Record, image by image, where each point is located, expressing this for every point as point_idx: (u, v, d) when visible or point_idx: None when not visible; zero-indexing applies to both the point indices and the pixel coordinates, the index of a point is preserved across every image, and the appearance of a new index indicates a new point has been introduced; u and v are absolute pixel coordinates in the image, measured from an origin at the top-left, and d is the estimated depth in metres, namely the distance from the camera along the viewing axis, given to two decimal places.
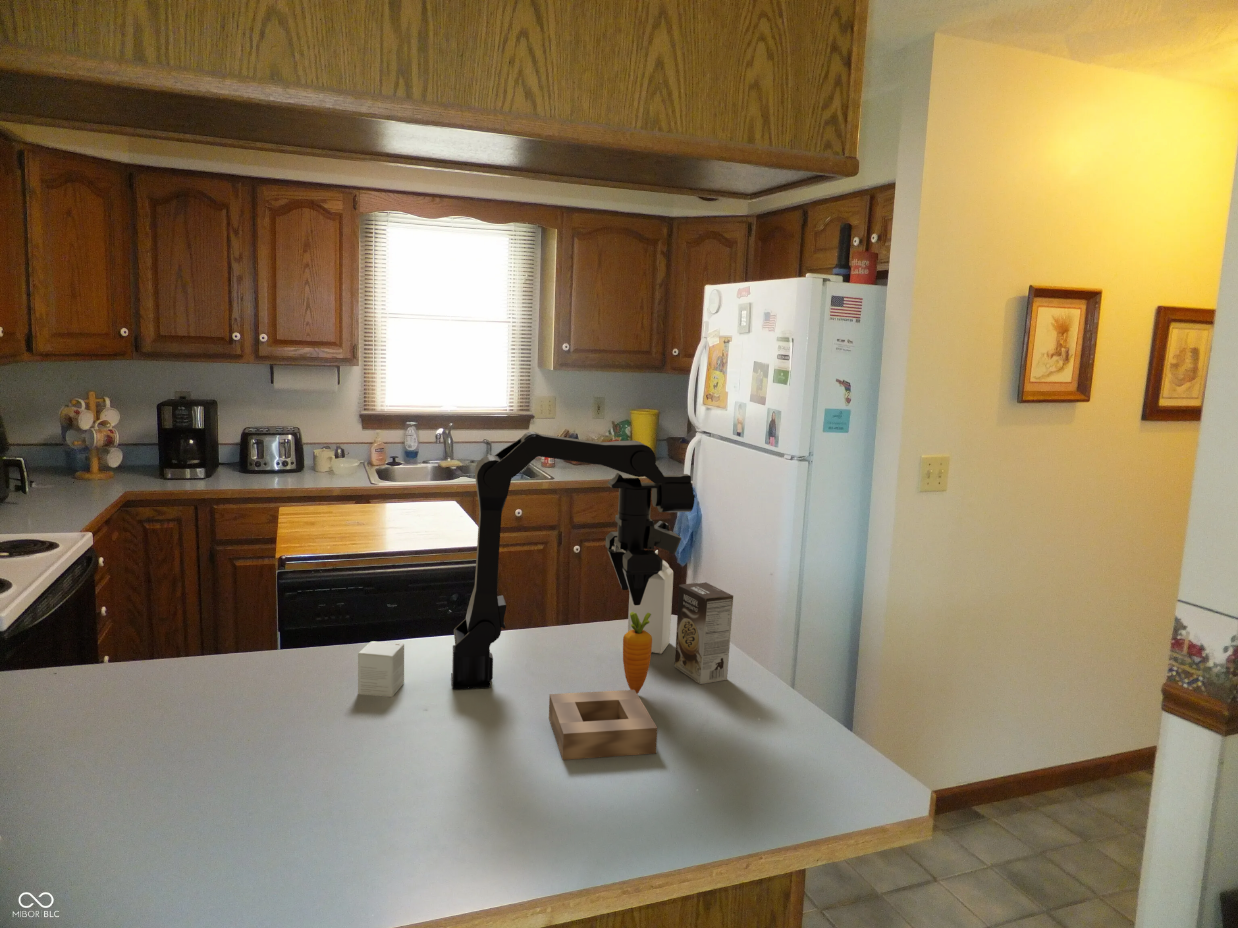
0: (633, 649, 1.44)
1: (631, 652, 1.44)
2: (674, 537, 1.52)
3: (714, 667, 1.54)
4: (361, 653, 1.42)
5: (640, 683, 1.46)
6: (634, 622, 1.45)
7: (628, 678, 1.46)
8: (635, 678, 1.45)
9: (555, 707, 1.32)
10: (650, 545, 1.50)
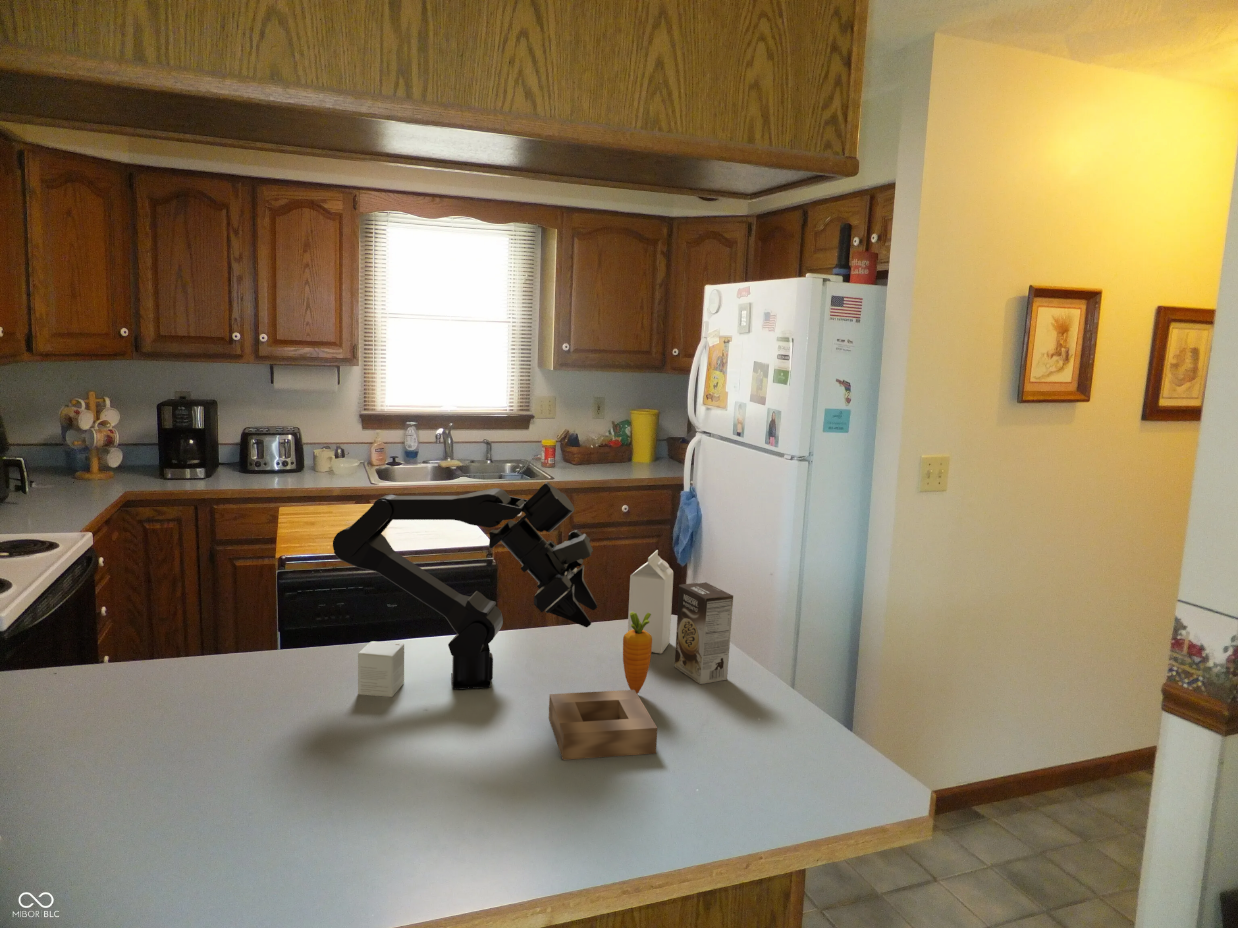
0: (633, 649, 1.44)
1: (631, 652, 1.44)
2: (575, 544, 1.42)
3: (714, 667, 1.54)
4: (361, 653, 1.42)
5: (640, 683, 1.46)
6: (634, 622, 1.45)
7: (628, 678, 1.46)
8: (635, 678, 1.45)
9: (555, 707, 1.32)
10: (560, 567, 1.43)
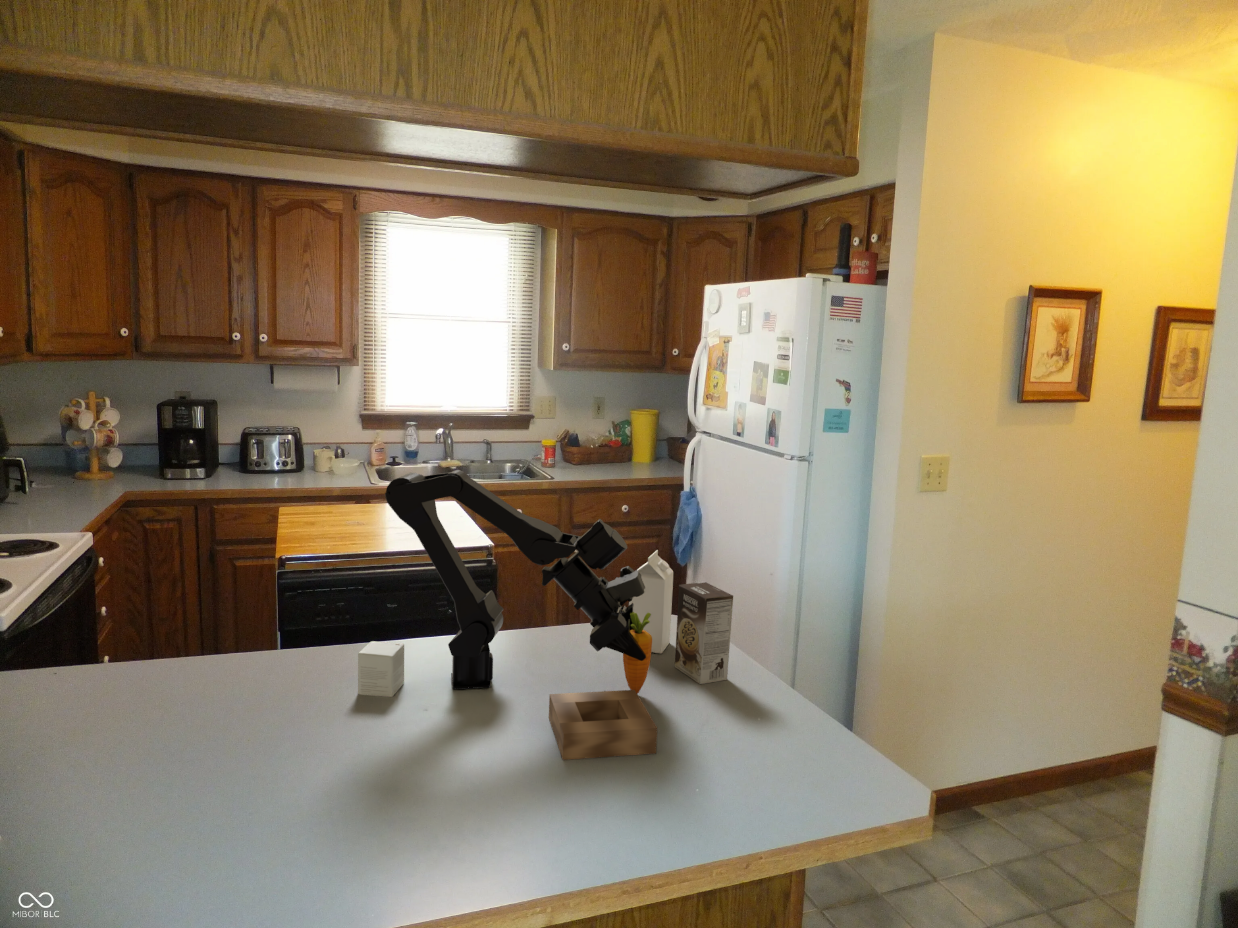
0: None
1: None
2: (628, 582, 1.42)
3: (714, 667, 1.54)
4: (361, 653, 1.42)
5: (640, 682, 1.46)
6: (634, 622, 1.45)
7: (628, 678, 1.46)
8: (635, 678, 1.45)
9: (555, 707, 1.32)
10: (613, 605, 1.43)
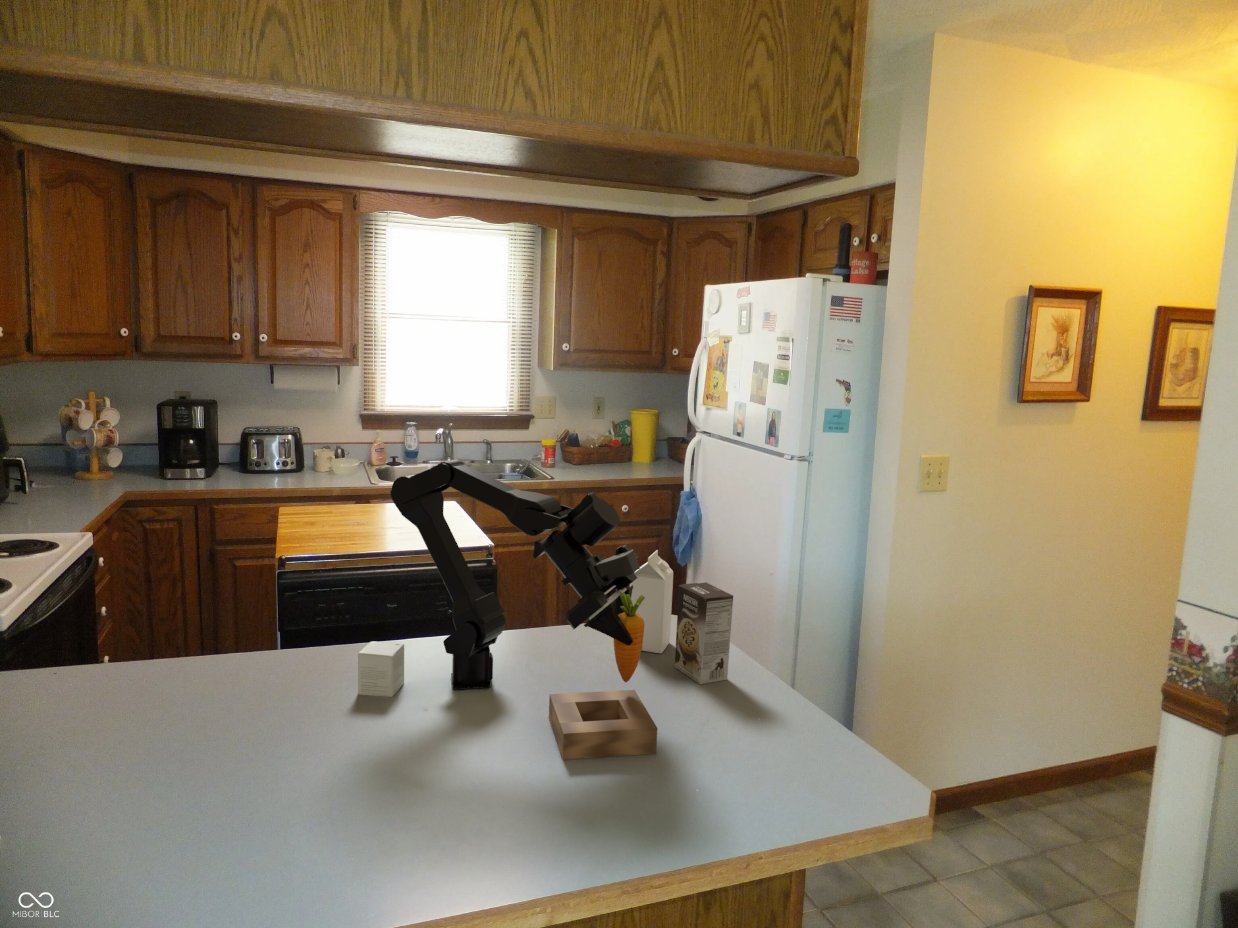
0: None
1: None
2: (616, 560, 1.34)
3: (714, 667, 1.54)
4: (361, 653, 1.42)
5: (629, 669, 1.37)
6: (625, 604, 1.36)
7: (617, 663, 1.37)
8: (623, 663, 1.36)
9: (555, 707, 1.32)
10: (600, 584, 1.35)
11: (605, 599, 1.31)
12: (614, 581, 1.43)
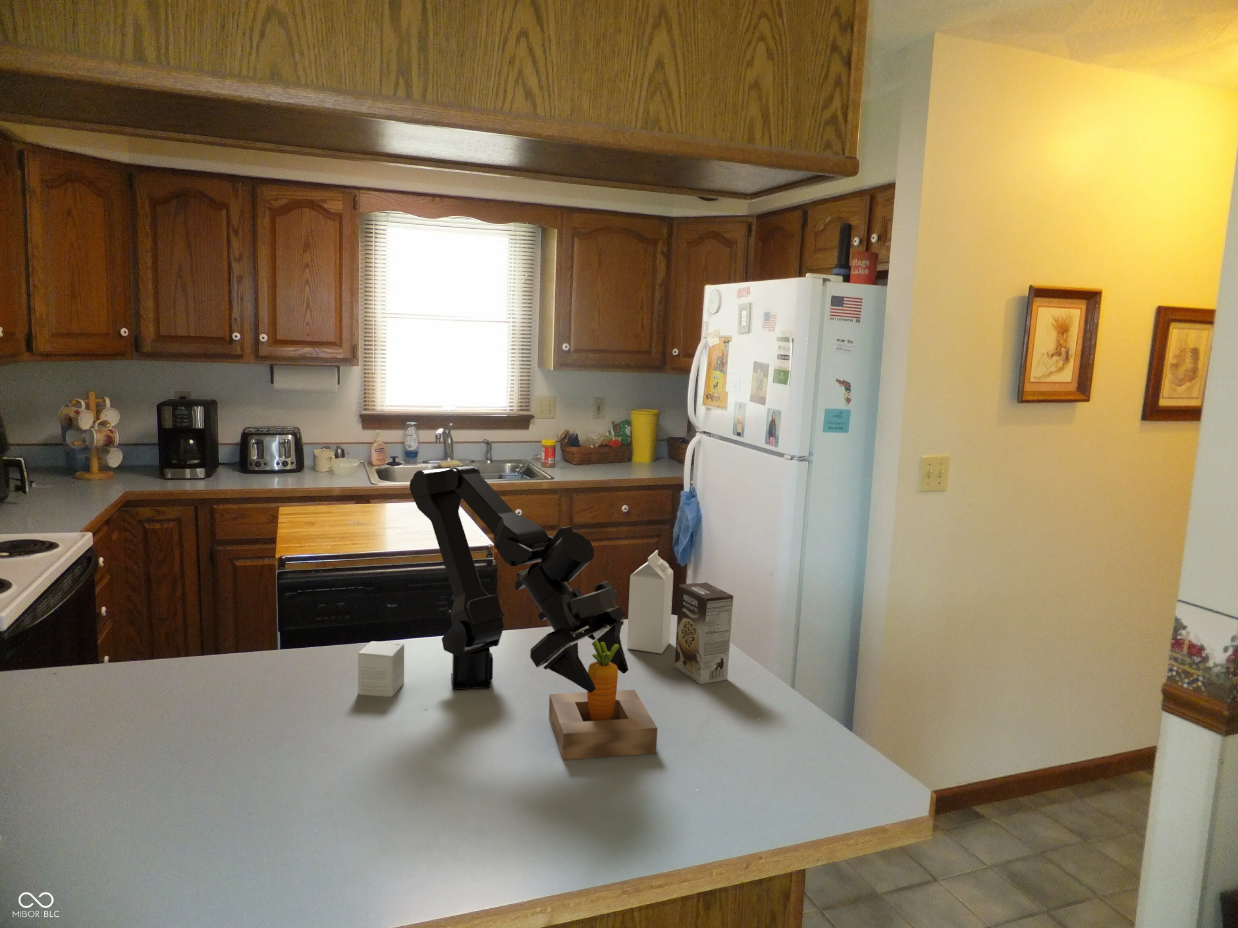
0: None
1: None
2: (587, 597, 1.28)
3: (714, 667, 1.54)
4: (361, 653, 1.42)
5: None
6: (598, 652, 1.30)
7: (590, 713, 1.31)
8: (594, 714, 1.30)
9: (555, 707, 1.32)
10: (571, 621, 1.29)
11: (569, 638, 1.25)
12: (599, 618, 1.37)
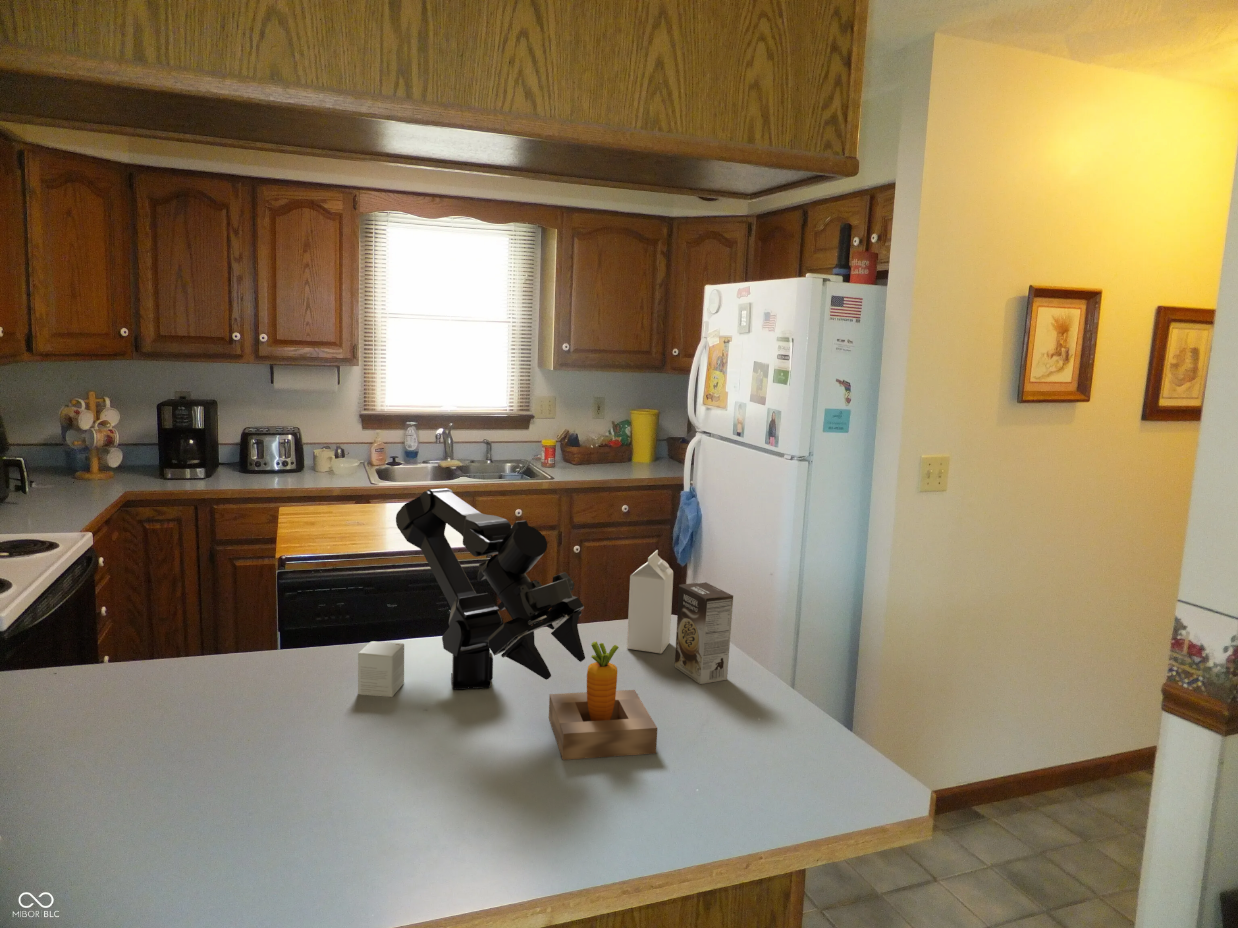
0: (591, 682, 1.29)
1: (589, 686, 1.30)
2: (543, 588, 1.32)
3: (714, 667, 1.54)
4: (361, 653, 1.42)
5: None
6: (597, 653, 1.30)
7: None
8: (594, 715, 1.30)
9: (555, 707, 1.32)
10: (529, 611, 1.33)
11: (525, 627, 1.30)
12: (557, 608, 1.41)
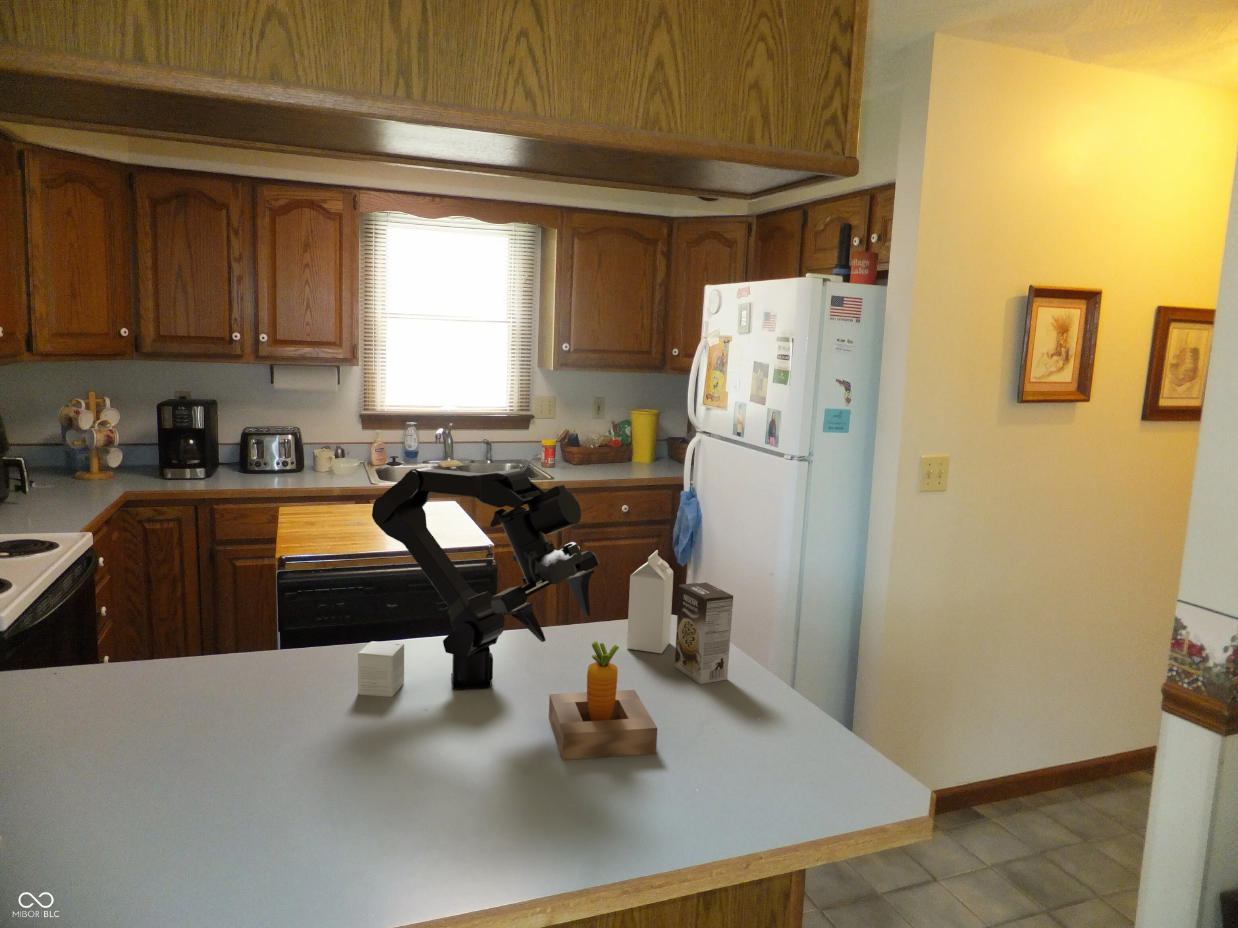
0: (591, 682, 1.29)
1: (590, 686, 1.30)
2: (545, 567, 1.34)
3: (714, 667, 1.54)
4: (361, 653, 1.42)
5: None
6: (597, 653, 1.30)
7: None
8: (594, 715, 1.30)
9: (555, 707, 1.32)
10: (533, 578, 1.38)
11: (523, 600, 1.35)
12: None
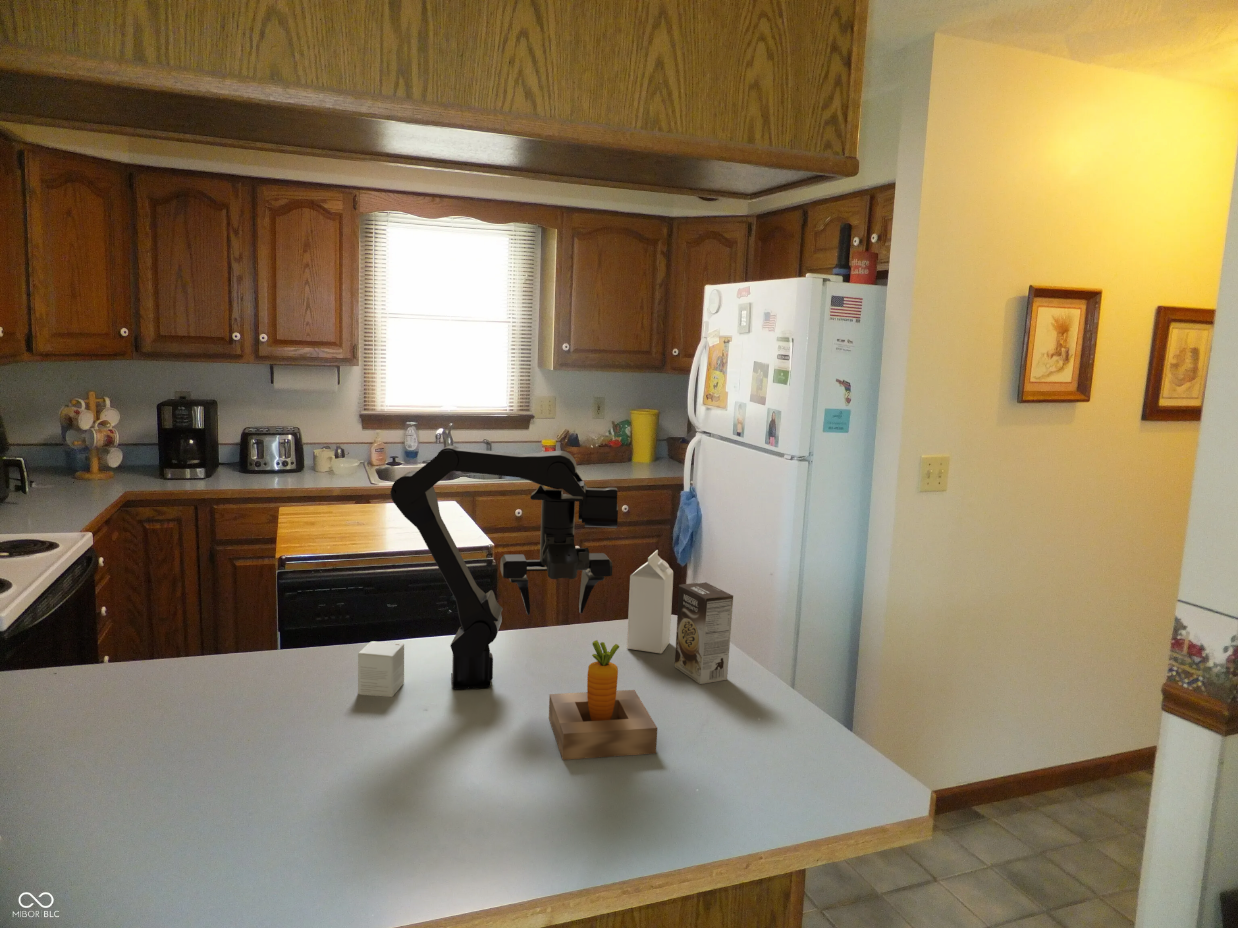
0: (591, 681, 1.29)
1: (590, 685, 1.30)
2: (548, 559, 1.40)
3: (714, 667, 1.54)
4: (361, 653, 1.42)
5: None
6: (598, 652, 1.30)
7: (590, 713, 1.31)
8: (594, 714, 1.30)
9: (555, 707, 1.32)
10: (541, 560, 1.44)
11: (521, 575, 1.43)
12: None
